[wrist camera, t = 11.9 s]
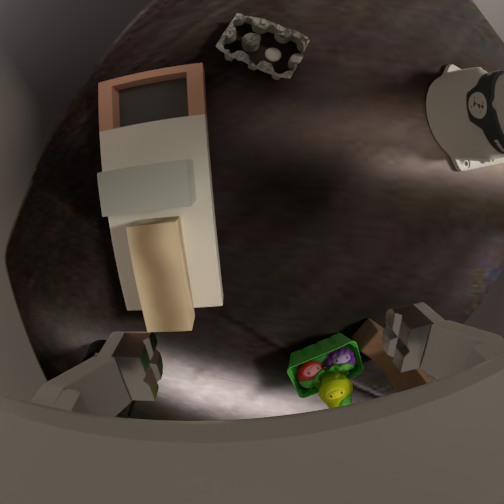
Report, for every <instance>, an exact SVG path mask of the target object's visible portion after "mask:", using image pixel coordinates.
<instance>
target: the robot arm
mask: <svg viewBox="0 0 504 504" xmlns="http://www.w3.org/2000/svg"><path fill="white" fill-rule="evenodd" d="M426 111H427V117H428V122H429V125H430V128H431V130H432V133H433V135H434V137H435V139H436V140H437V142H438V143H439V145H440V146H441V147H442V148H443V149H444V150H445V151H446V152H447V153H448V155H449V156H450V158H451V160H452V162H453V165H454V167H455V168H456V170H457V171H467V170H472V169H477V168H482V167H487V166H492V165H497V164H502V163H504V71H492V72H490V73H488V72H486V71H485V70H483V69H482V68H481V67H474V68H467V69H460V68H458V67H457V66H455V65H447V66H446V67H445V70H444V72H443V74H442V75H441V76H440V77H438V78H437V79H436V80H434V81H433V83H432V84H431V85H430V87H429V90H428V93H427V98H426ZM385 321H386V323H387V326H386V328H385V329H384V330H383V335H382V343H383V348H384V350H385V352H386V353H387V355H389V356H392V357H394V358H393V363H394V364H395V366H396V367H397V369H398V370H399V371H400V373H401V372H405V371H409V370H413V369H417V368H420V369H421V370H423V371H425V372H427V373H429V374H431V375H432V376H434V377H436V378H438V380H435V381H432V382H430V383H427V384H424V385H421V386H417V387H414V388H411V389H408V390H404V391H401V392H398V393H394V394H390V395H387V396H383V397H379V398H375V399H371V400H367V401H363V402H358V403H354V404H349V405H345V406H340V407H335V408H329V409H324V410H318V411H312V412H305V413H299V414H291V415H284V416H275V417H265V418H254V419H241V420H222V421H162V420H143V419H130V418H120V417H115V416H116V415H117V414H118V413H120V412H121V411H122V410H123V409H124V408H125V407H126V406H127V405H128V404H129V403H130V402H131V400H146V401H155V398H156V395H157V391H158V388H159V387H158V384H157V382H158V381H159V380H160V379H161V377H162V372H163V364H162V358H161V354H160V353H159V352H158V351H157V350H156V349H155V348H156V345H157V339H156V336H155V334H154V333H153V332H112V333H111V335H110V336H109V338H108V339H107V341H106V343H105V344H104V346H103V347H102V349H101V351H100V352H99V354H98V356H97V357H91V358H90V359H88V360H86V361H84V362H82V363H81V364H79V365H77V366H75V367H73V368H71V369H70V370H68V371H66V372H64V373H62V374H61V375H59V376H57V377H55V378H53V379H51V380H50V381H48V382H46V383H44V384H43V385H42V386H41V388H40V389H39V391H38V392H37V394H36V395H35V397H34V398H33V400H32V401H31V402H27V401H23V400H19V399H16V398H12V397H9V396H6V395H2V394H0V504H504V339H503V338H502V337H500V336H499V335H497V334H494V333H490V332H487V331H484V330H480V329H476V328H473V327H470V326H466V325H463V324H460V323H456V322H453V321H449V320H448V321H445V320H444V319H443V318H442V317H440V316H439V315H438V314H437V313H436V312H435V311H433V310H432V309H431V308H430V307H429V306H428V305H426V304H425V303H422V302H420V303H416V304H412V305H408V306H403V307H399V308H394V309H389V310H387V313H386V316H385Z"/></svg>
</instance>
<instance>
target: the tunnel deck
mask: <svg viewBox="0 0 504 504" xmlns="http://www.w3.org/2000/svg"><path fill="white" fill-rule="evenodd" d="M98 107H99V134H100V150H101V162H102V172H100V173H97V180H98V188H99V196H100V204H101V211H102V217H106V216H108V220H109V226H110V232H111V238H112V244H113V249H114V254H115V259H116V264H117V269H118V274H119V278H120V283H121V287H122V291H123V296H124V300H125V304H126V308H127V311H130V310H142V307H141V303H140V299H139V294H138V290H137V285H136V280H135V275H134V271H133V265H132V260H131V255H130V249H129V244H128V238H127V232H126V227H127V226H128V225H130V224H131V223H133V222H134V221H136V220H143V219H152V218H161V217H170V216H180V215H181V220H182V229H183V237H184V245H185V252H186V259H187V266H188V273H189V280H190V287H191V293H192V299H193V305H194V308H195V307H211V306H223V289H222V280H221V271H220V262H219V252H218V242H217V232H216V222H215V211H214V200H213V188H212V176H211V164H210V150H209V136H208V122H207V106H206V88H205V69H204V66H203V63H195V64H188V65H180V66H174V67H168V68H162V69H156V70H151V71H146V72H141V73H136V74H132V75H127V76H123V77H119V78H115V79H111V80H107V81H104V82H100V83H98Z"/></svg>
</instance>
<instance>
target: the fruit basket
mask: <svg viewBox="0 0 504 504" xmlns="http://www.w3.org/2000/svg"><path fill="white" fill-rule="evenodd" d="M362 372H363V365H362V361H361V357H360V353H359V350H358V346H357V343H356V342H355V341H353V340H350V339H349V338H347V337H346V336H344V335H343V334H341V333H337V334H335V335H333V336H331V337H330V338H326V339H324V340H321V341H319V342H317V343H316V344H312V345H310V346H307V347H305V348H303V349H302V350H297V351H295V352H292V353H291V355H290V362H289V366H288V369H287V373H288V375H289V377H290V379H291V381H292V383H293V385H294V387H295V389H296V391H297V393H298V395H299V397H301V398H305V397H308V396H310V395H313V394H316V393H318V392H319V396H320V398H321V399H322V400H323V401H324V402H325V403H326V404H327V405H328V407H329V408H335V407H340V406H345V405H349V404H352V396H351V394H352V390H353V387H352V383H351V382H350V380H349V379H351V378H353V377H355V376H357V375H359V374H361V373H362Z"/></svg>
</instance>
